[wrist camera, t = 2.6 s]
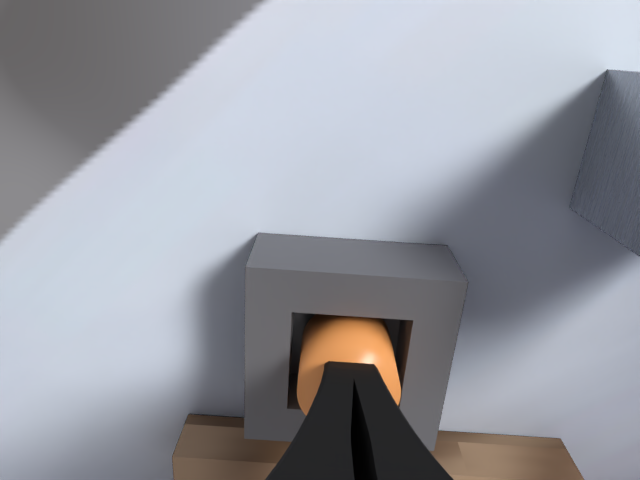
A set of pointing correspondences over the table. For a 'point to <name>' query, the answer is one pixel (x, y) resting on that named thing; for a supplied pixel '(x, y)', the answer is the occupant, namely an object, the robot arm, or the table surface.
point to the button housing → (348, 300)
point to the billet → (613, 162)
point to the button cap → (344, 352)
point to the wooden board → (450, 451)
